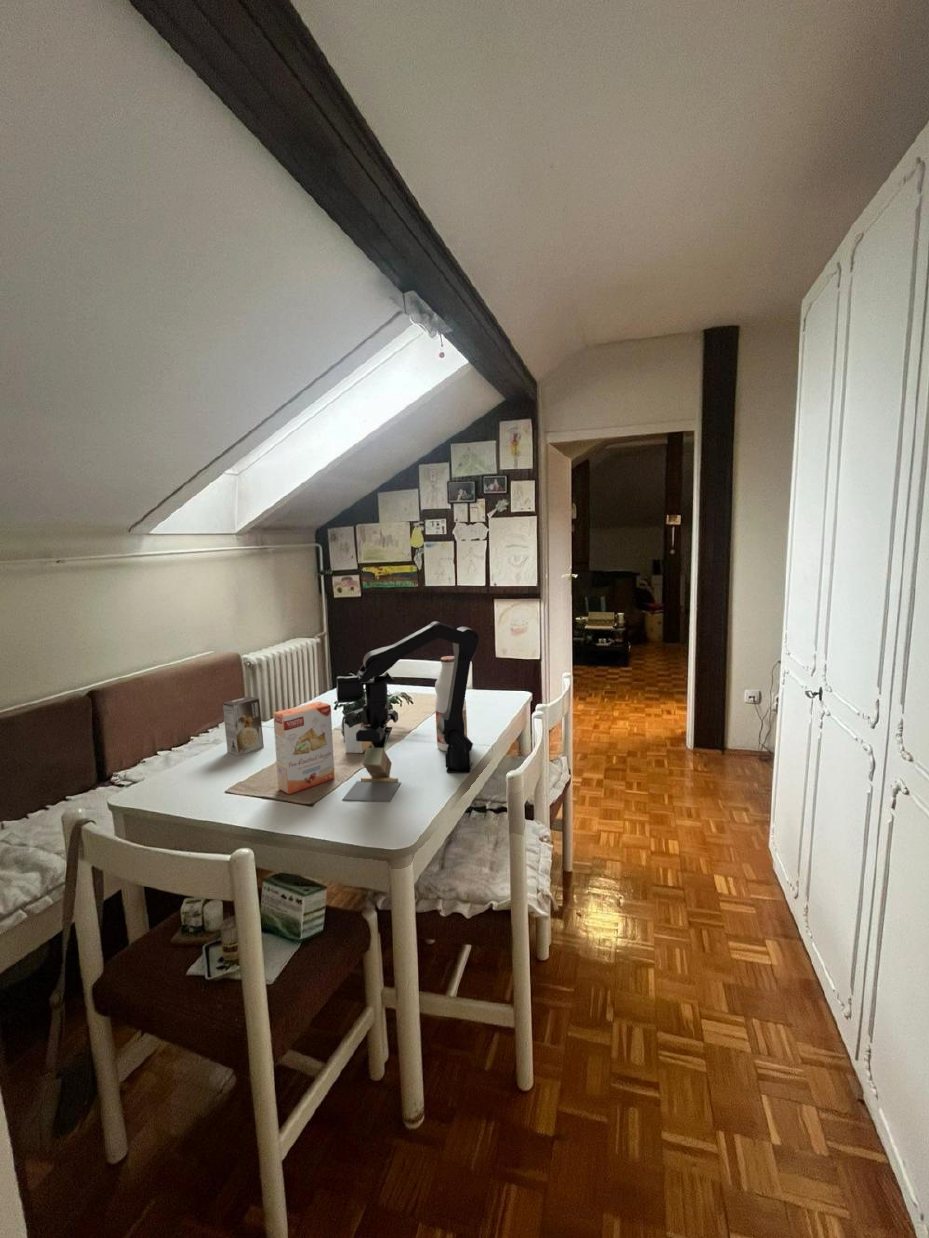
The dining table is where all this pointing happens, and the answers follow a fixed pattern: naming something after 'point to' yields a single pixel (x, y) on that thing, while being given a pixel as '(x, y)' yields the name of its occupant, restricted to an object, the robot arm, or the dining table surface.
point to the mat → (372, 791)
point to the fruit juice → (445, 696)
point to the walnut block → (377, 762)
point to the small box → (354, 739)
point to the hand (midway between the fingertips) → (379, 756)
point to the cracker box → (303, 746)
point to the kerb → (379, 779)
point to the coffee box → (243, 725)
